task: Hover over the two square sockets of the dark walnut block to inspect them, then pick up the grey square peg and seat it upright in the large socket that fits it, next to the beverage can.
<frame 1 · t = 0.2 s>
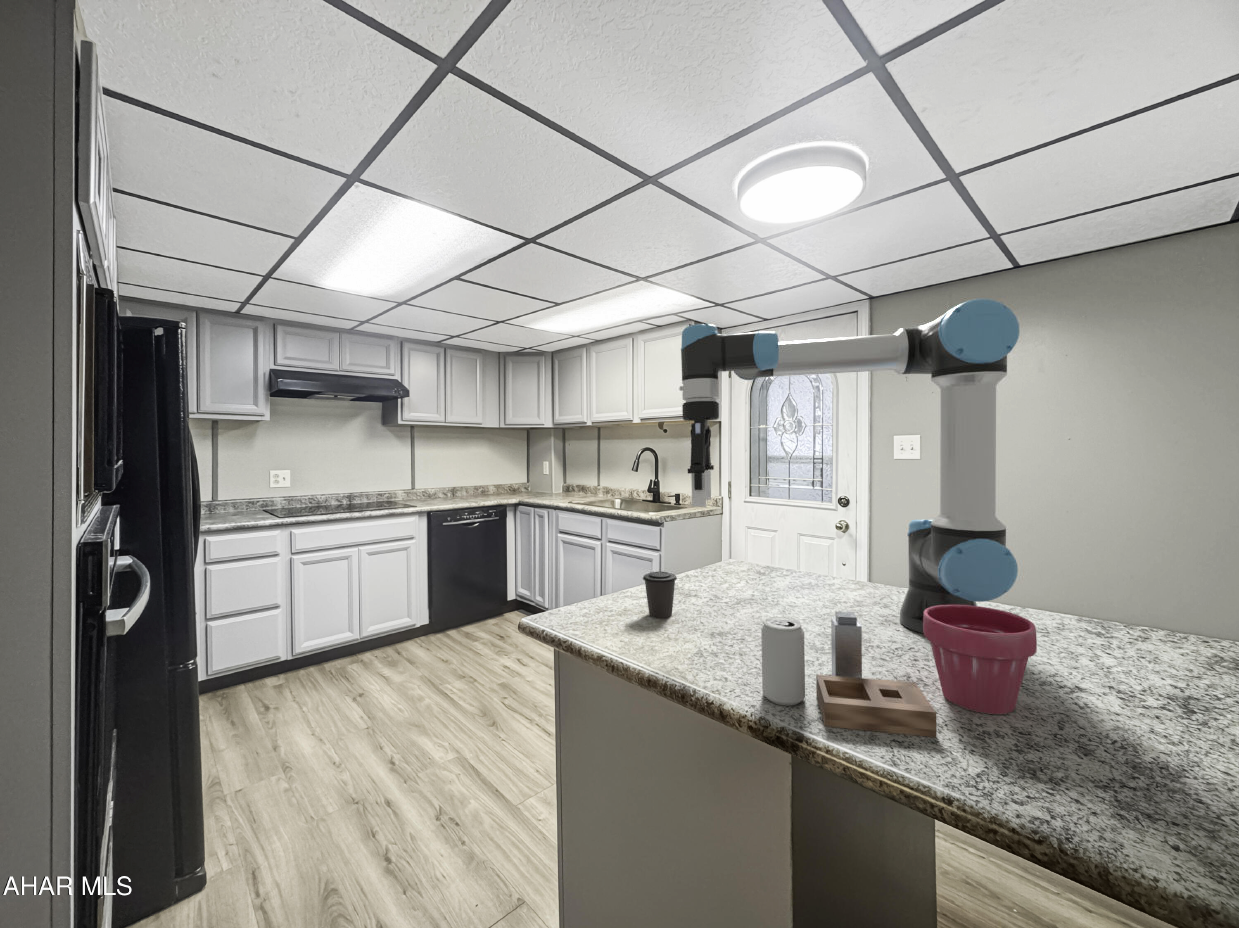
hand: (702, 503, 108), 28 cm above the countertop, fingers open, 13 cm apart
plant pot: (976, 701, 79), on the countertop
coffee cup: (660, 615, 122), on the countertop
beverage can: (783, 699, 81), on the countertop
socket block: (871, 714, 75), on the countertop
grey square peg: (846, 680, 86), on the countertop
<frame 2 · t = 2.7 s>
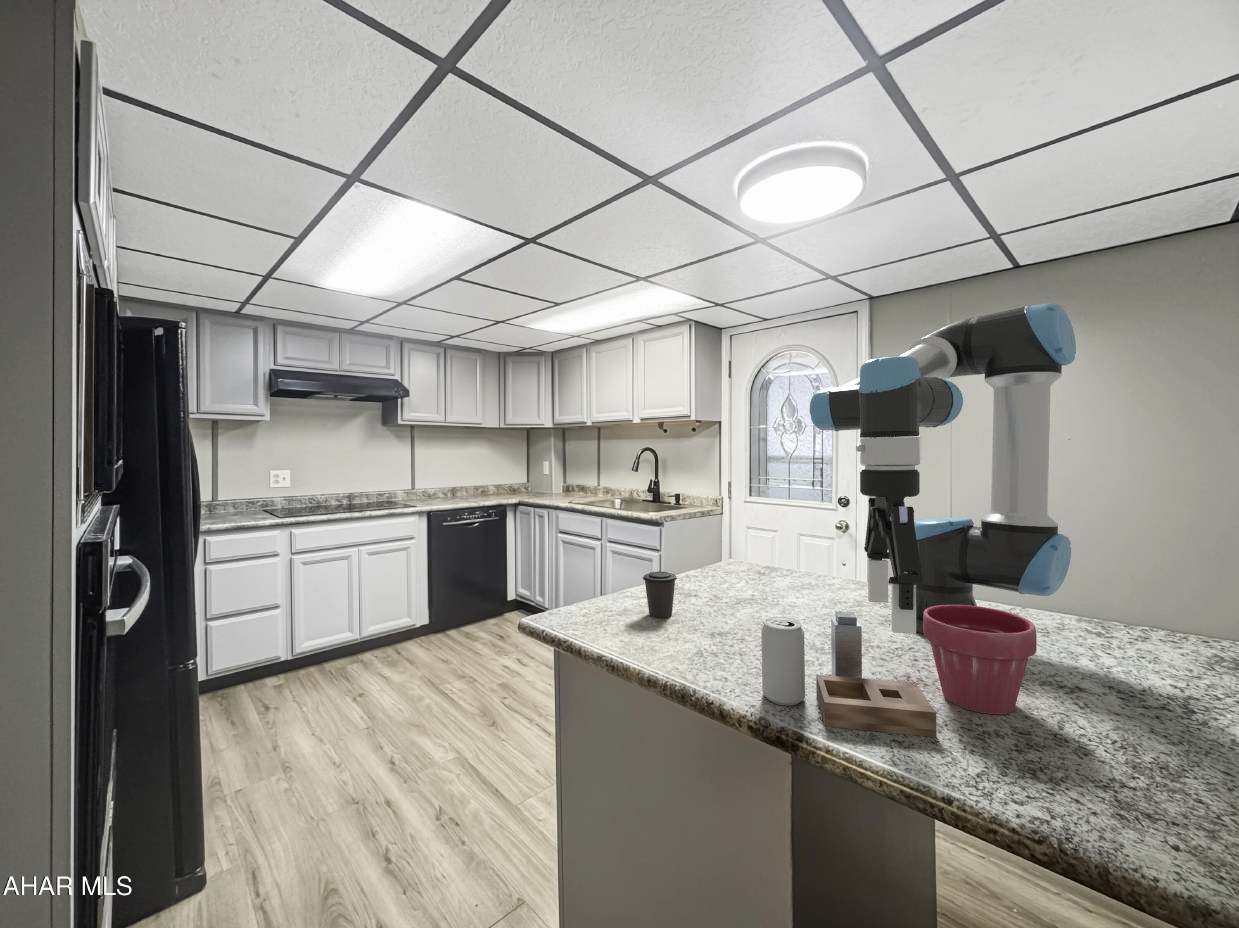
hand: (889, 615, 74), 15 cm above the countertop, fingers open, 13 cm apart
nothing on the countertop moved.
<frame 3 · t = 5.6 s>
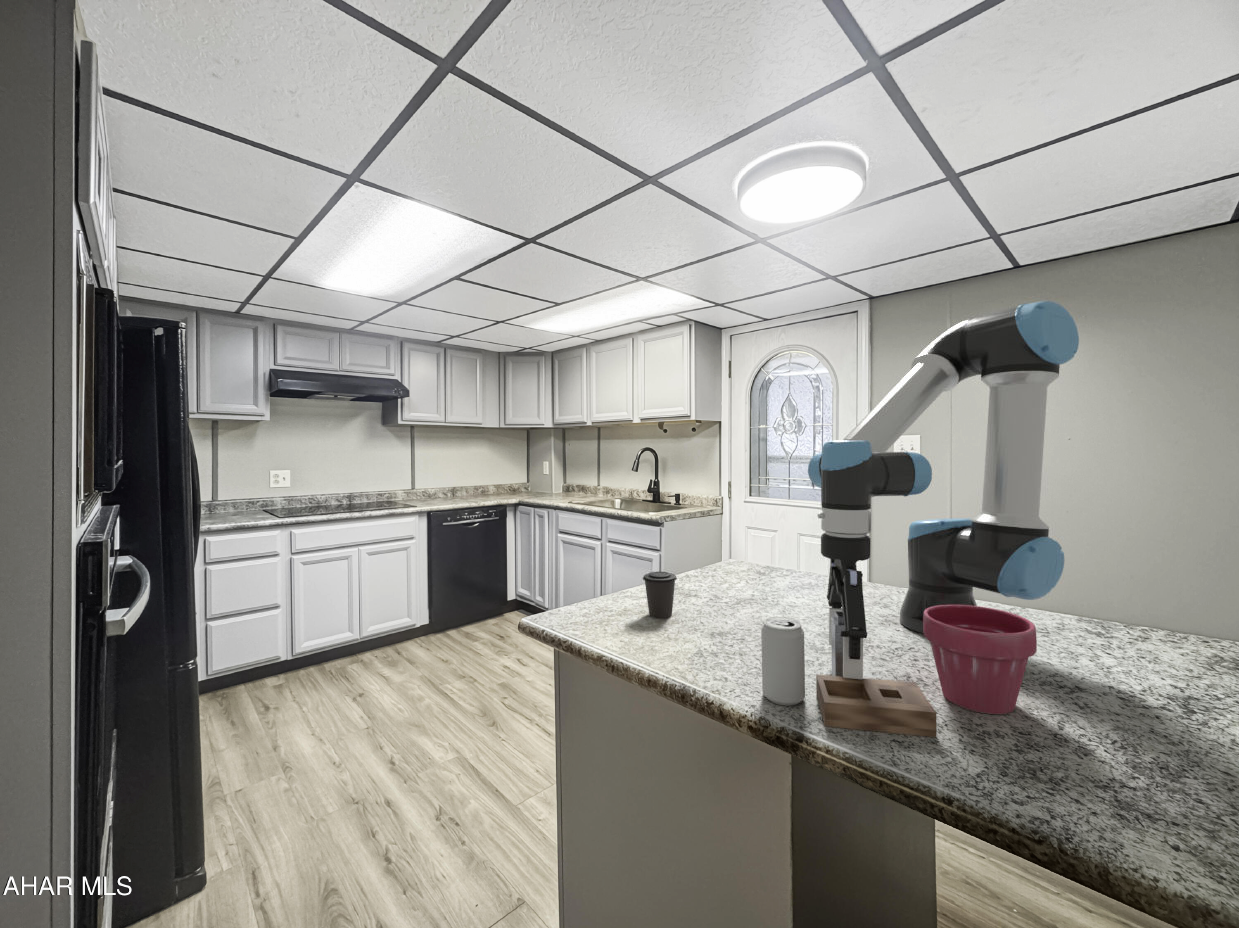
hand: (844, 660, 86), 3 cm above the countertop, fingers open, 13 cm apart
nothing on the countertop moved.
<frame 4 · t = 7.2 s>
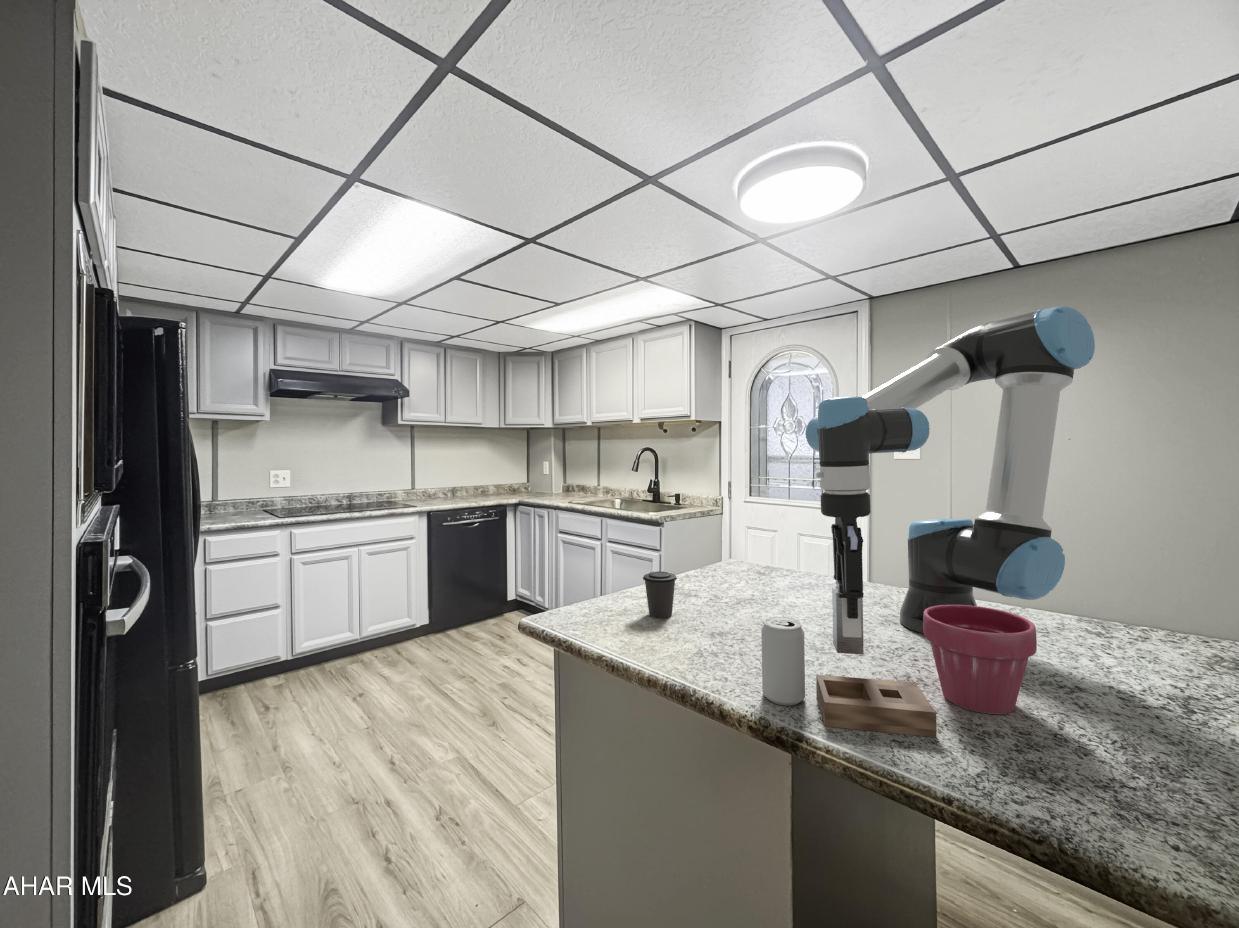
hand: (849, 630, 86), 8 cm above the countertop, fingers closed on grey square peg, 4 cm apart
grey square peg: (848, 648, 86), point 5 cm above the countertop, touching gripper
everything else where it was.
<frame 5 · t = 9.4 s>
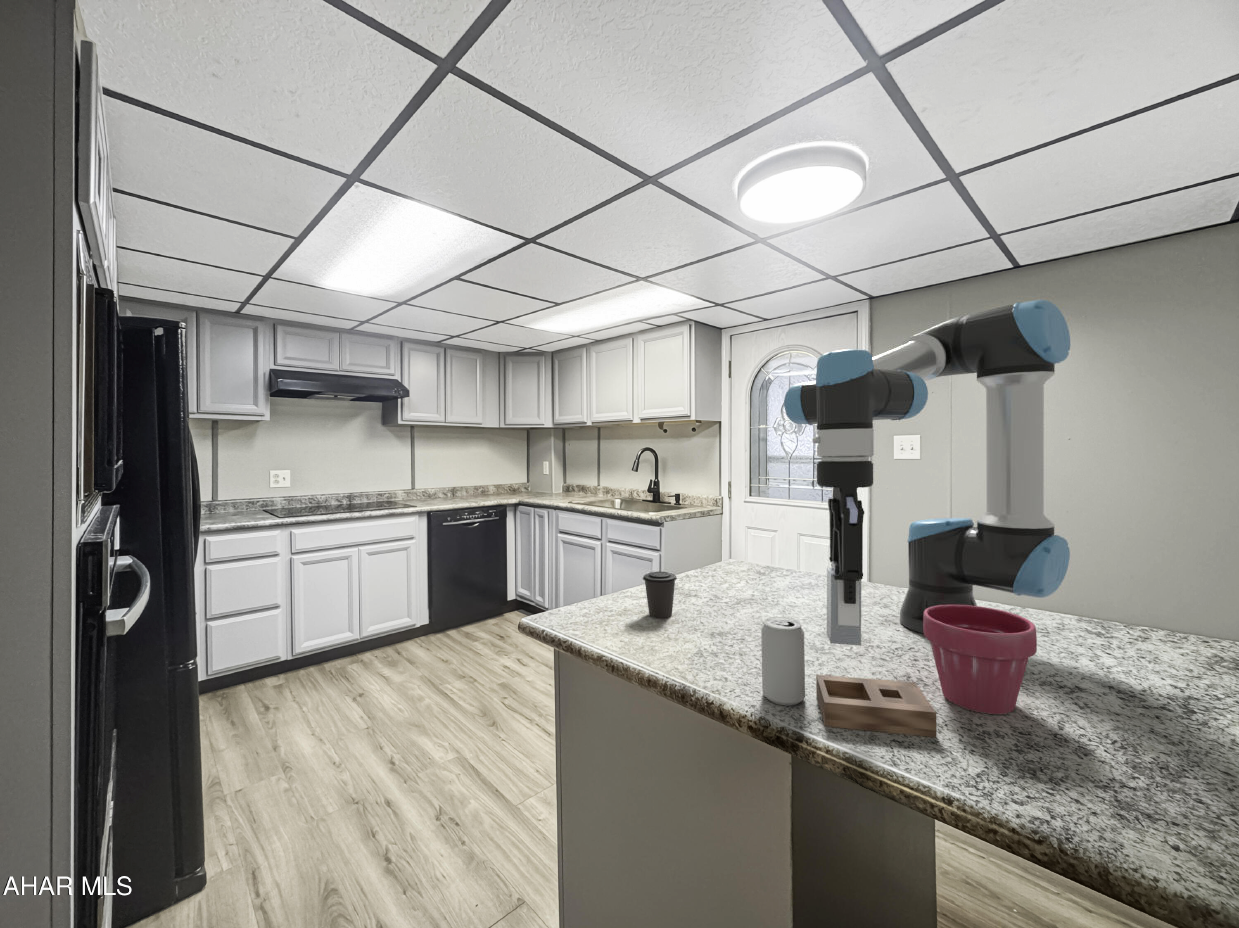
hand: (845, 618, 75), 14 cm above the countertop, fingers closed on grey square peg, 4 cm apart
grey square peg: (843, 639, 75), point 11 cm above the countertop, touching gripper
everything else where it was.
when the fingers open (4 cm above the countertop, at t = 11.6 s): grey square peg stays where it is, resting on socket block.
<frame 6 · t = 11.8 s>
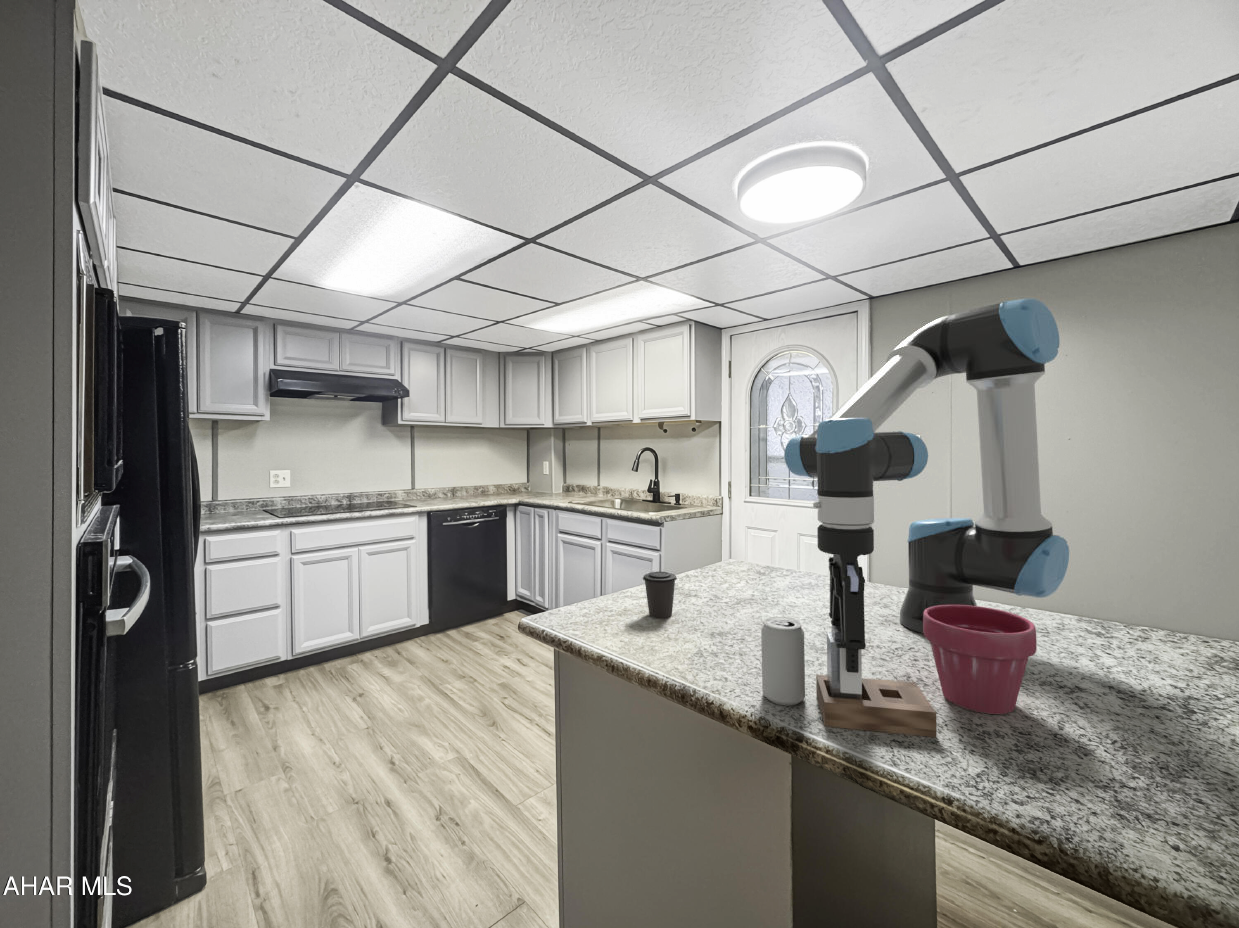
hand: (846, 680, 76), 5 cm above the countertop, fingers open, 6 cm apart
grey square peg: (844, 704, 76), point 1 cm above the countertop, touching socket block
everything else where it was.
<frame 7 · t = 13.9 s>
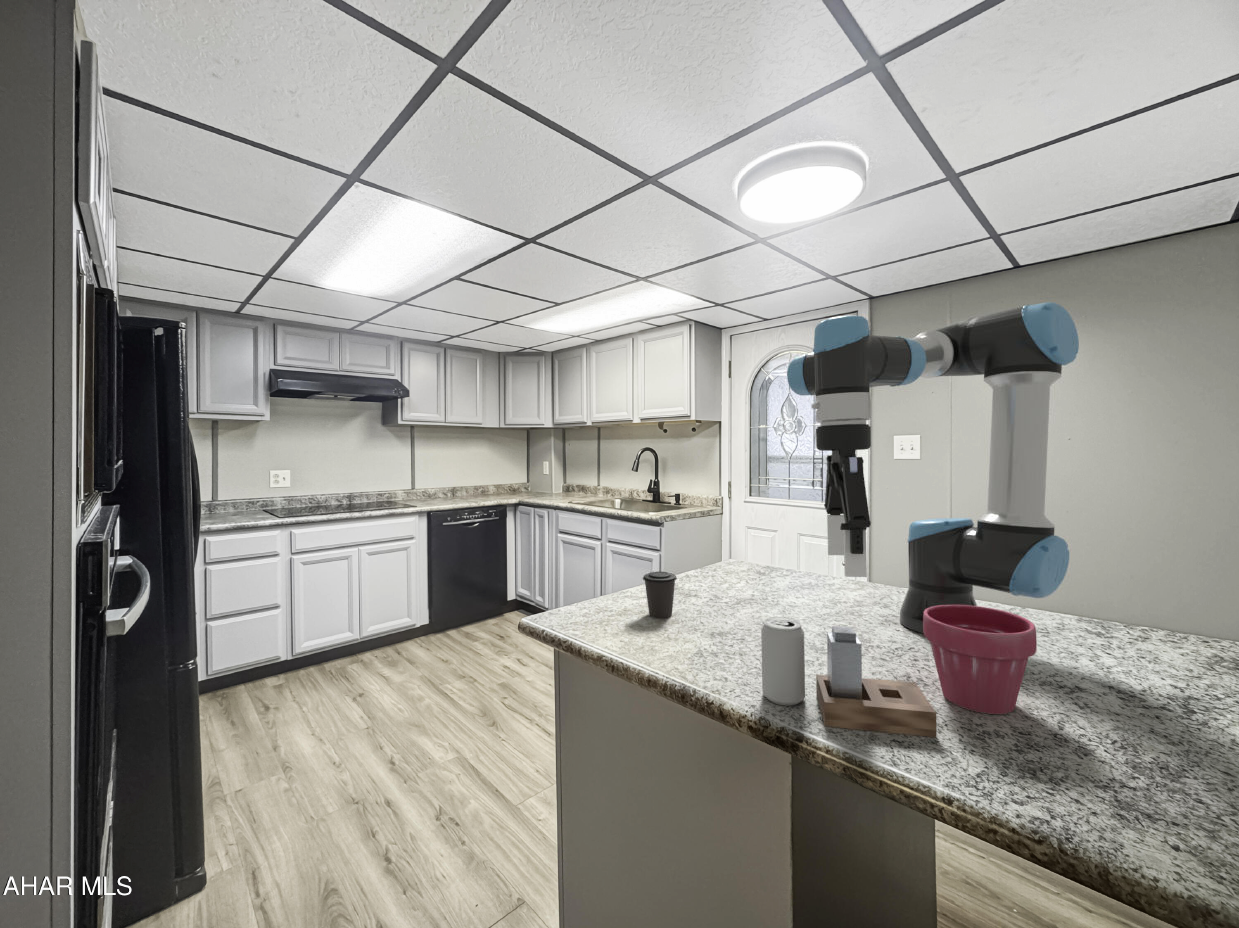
hand: (845, 564, 78), 21 cm above the countertop, fingers open, 13 cm apart
nothing on the countertop moved.
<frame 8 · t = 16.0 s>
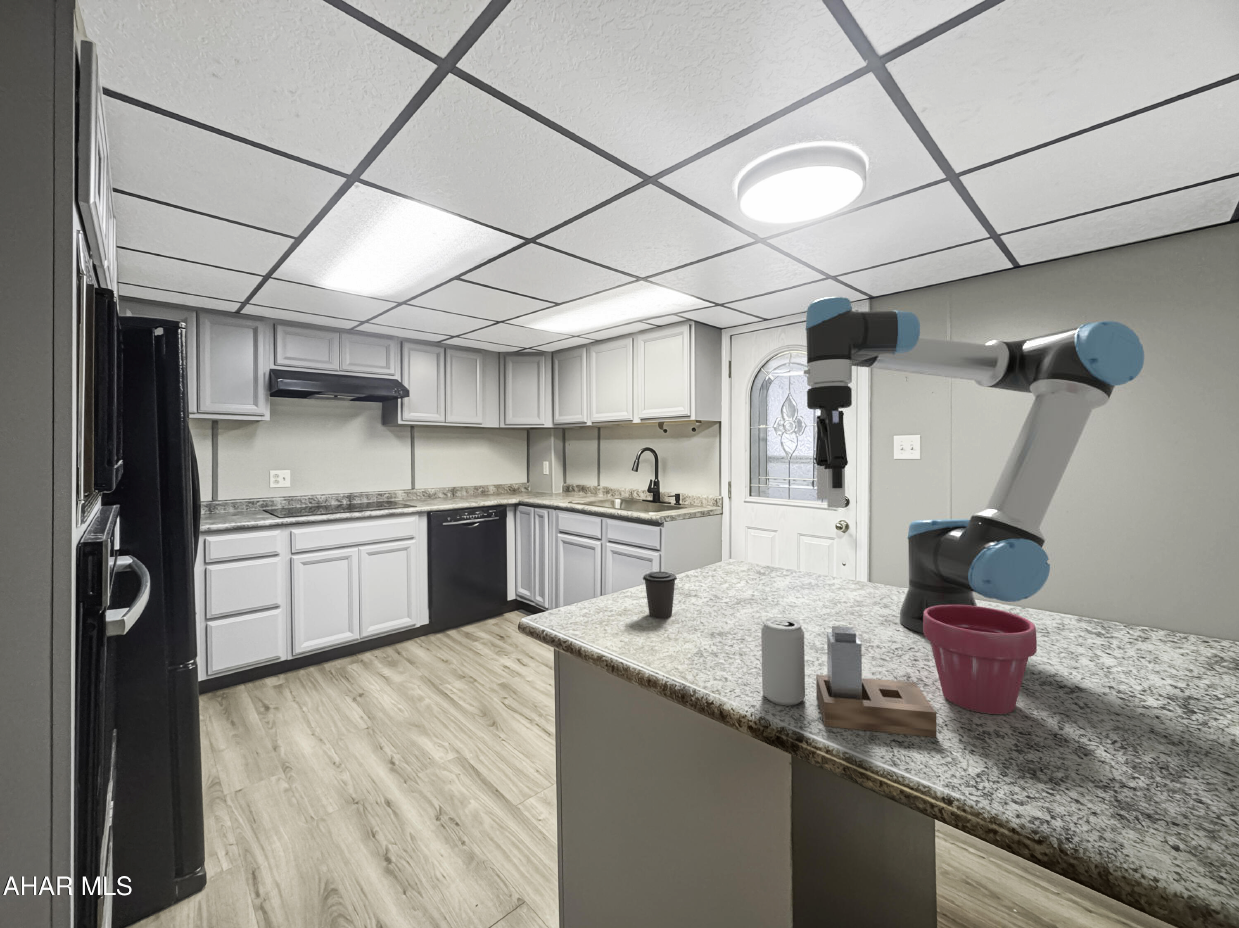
hand: (830, 503, 94), 29 cm above the countertop, fingers open, 13 cm apart
nothing on the countertop moved.
at the end: grey square peg 0.3 cm from the target spot on the socket block, point 1.1 cm above the socket block's base; grey square peg tilted 0°; the gripper is holding nothing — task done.
